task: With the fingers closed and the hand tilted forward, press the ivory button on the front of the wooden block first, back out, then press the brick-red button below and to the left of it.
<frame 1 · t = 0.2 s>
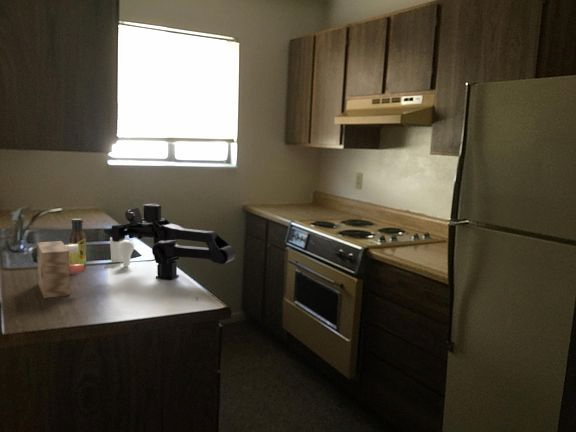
hand: (111, 228, 209), 17 cm above the counter, tool horizontal, fingers open, 9 cm apart
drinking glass: (118, 261, 226), on the counter
lightbulb: (126, 266, 217), on the counter
sauce bottle: (78, 269, 211), on the counter
red button: (72, 269, 179), point 8 cm above the counter, slide at 0.0 cm
wooden block: (53, 289, 183), on the counter
ivory button: (67, 249, 189), point 12 cm above the counter, slide at 0.0 cm
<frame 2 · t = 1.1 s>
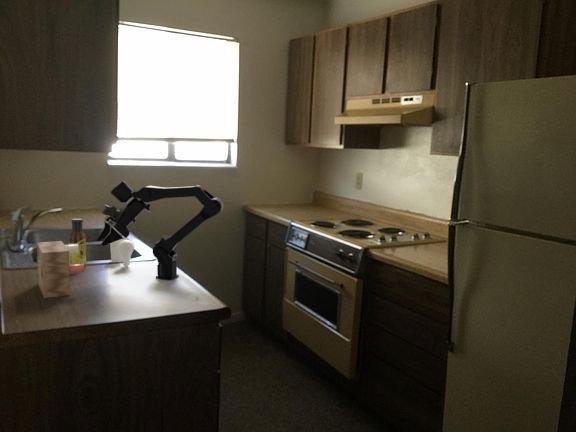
hand: (99, 242, 195), 14 cm above the counter, tool tilted 45°, fingers open, 8 cm apart
nothing on the counter moved.
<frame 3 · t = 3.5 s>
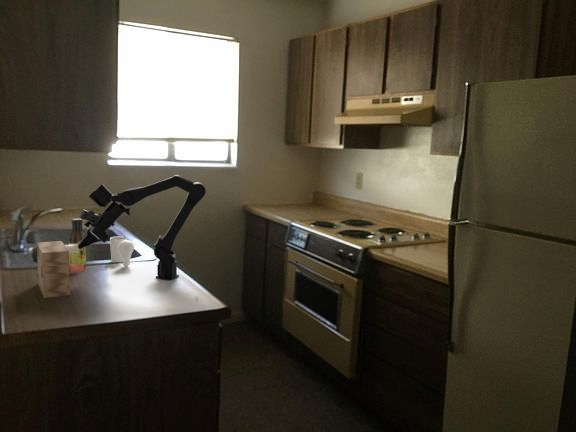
hand: (78, 247, 191), 13 cm above the counter, tool tilted 45°, fingers closed, pressing on ivory button
ivory button: (67, 249, 189), point 12 cm above the counter, slide at 0.1 cm, touching gripper
everything else where it was.
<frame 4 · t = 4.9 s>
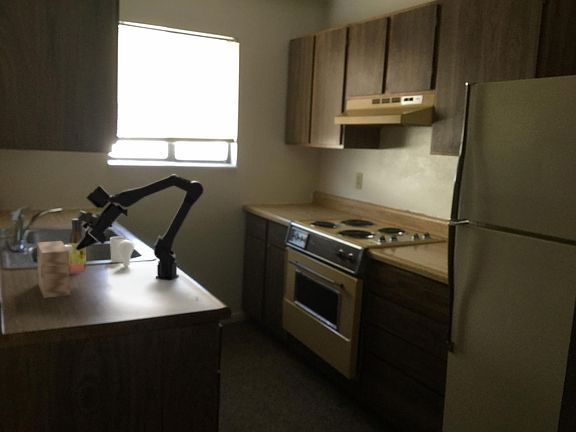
hand: (76, 249, 191), 12 cm above the counter, tool tilted 45°, fingers closed
ivory button: (61, 249, 188), point 12 cm above the counter, slide at 2.0 cm
everything else where it was.
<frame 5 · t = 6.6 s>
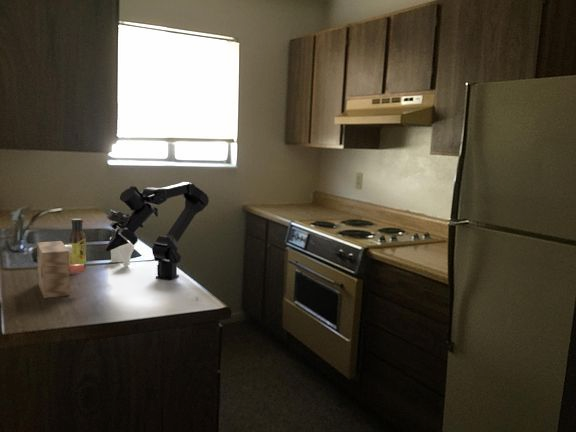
hand: (106, 250, 184), 14 cm above the counter, tool tilted 45°, fingers closed
nothing on the counter moved.
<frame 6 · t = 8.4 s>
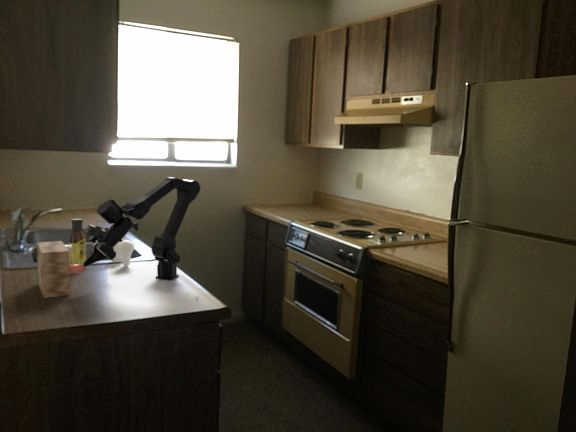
hand: (84, 265, 181), 9 cm above the counter, tool tilted 45°, fingers closed, pressing on red button
red button: (72, 269, 179), point 8 cm above the counter, slide at 0.1 cm, touching gripper
everything else where it was.
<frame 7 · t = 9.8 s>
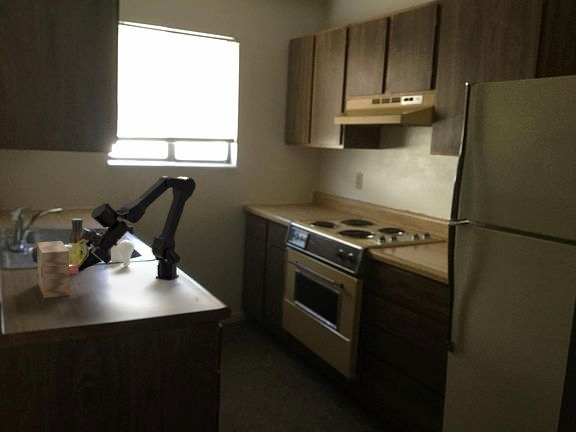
hand: (79, 269, 180), 8 cm above the counter, tool tilted 45°, fingers closed
red button: (66, 269, 178), point 8 cm above the counter, slide at 2.0 cm
everything else where it was.
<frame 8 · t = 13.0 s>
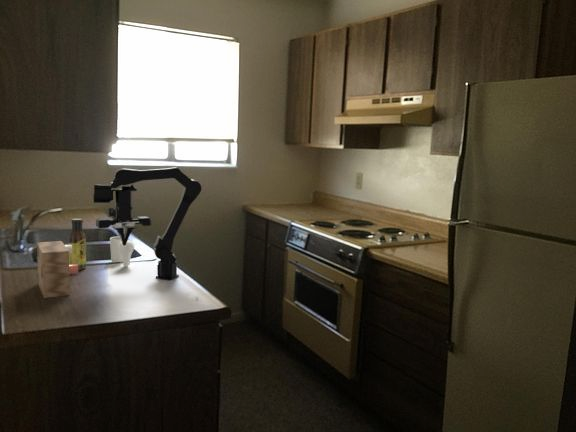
hand: (124, 245, 196), 13 cm above the counter, tool pointing down, fingers closed
nothing on the counter moved.
at the end: ivory button slide at 2.0 cm; red button slide at 2.0 cm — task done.
